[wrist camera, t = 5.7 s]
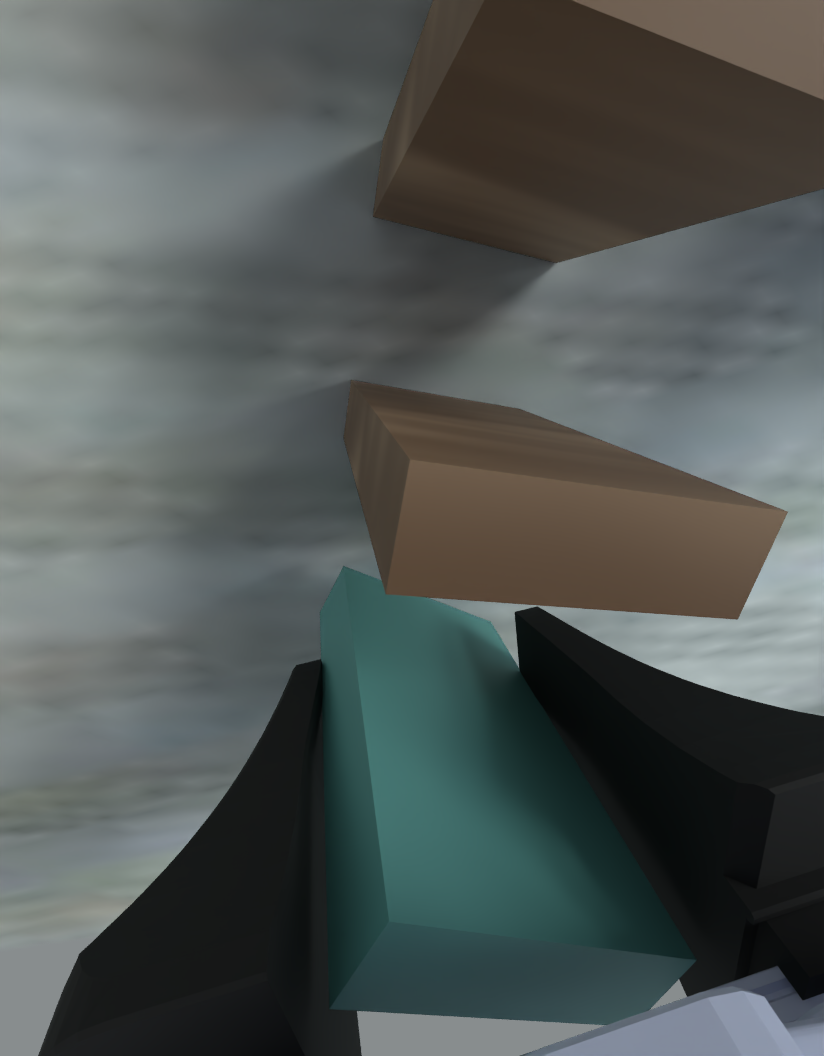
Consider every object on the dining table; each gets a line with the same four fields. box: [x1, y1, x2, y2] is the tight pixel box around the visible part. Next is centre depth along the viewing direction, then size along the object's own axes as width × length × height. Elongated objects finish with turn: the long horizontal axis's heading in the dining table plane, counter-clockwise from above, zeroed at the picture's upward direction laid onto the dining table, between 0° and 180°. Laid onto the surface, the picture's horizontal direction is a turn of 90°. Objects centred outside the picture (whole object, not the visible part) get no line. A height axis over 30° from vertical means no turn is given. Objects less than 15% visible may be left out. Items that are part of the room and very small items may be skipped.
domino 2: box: [344, 380, 788, 619], centre depth 10 cm, size 2×5×9 cm, turn 80°
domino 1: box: [373, 0, 824, 263], centre depth 8 cm, size 2×5×9 cm, turn 80°
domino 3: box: [320, 566, 696, 1025], centre depth 11 cm, size 2×5×9 cm, turn 62°
